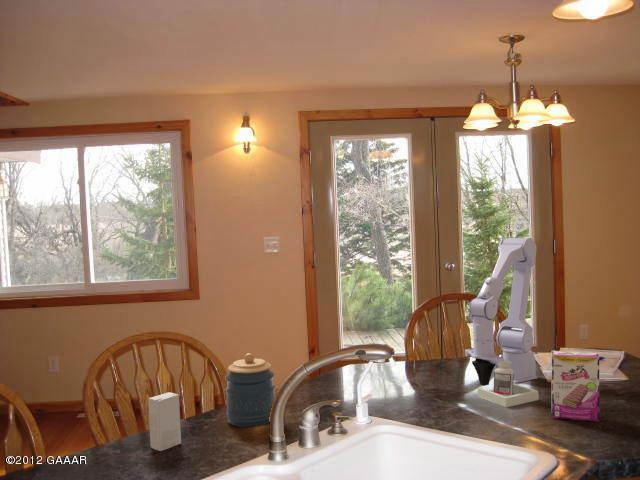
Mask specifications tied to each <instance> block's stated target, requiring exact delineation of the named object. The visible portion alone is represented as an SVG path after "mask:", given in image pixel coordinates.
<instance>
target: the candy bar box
mask: <svg viewBox="0 0 640 480" xmlns="http://www.w3.org/2000/svg"><path fill="white" fill-rule="evenodd" d="M550 357H551V359H550V360H551V361H550V362H551V368H550V369H551V377H550V378H551V389H550V391H551V417H552V419H561V420H571V421H574V420H575V421H583V422H584V421H586V422H598V423H599V422H600V357H599V353H598V352H583V351H582V352H581V351H566V350H565V351H563V350H551V356H550Z"/></svg>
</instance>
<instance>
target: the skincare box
mask: <svg viewBox="0 0 640 480" xmlns="http://www.w3.org/2000/svg"><path fill="white" fill-rule="evenodd" d="M147 401H148V402H147V403H148V418H149V419H148V421H149V437H150V439H149V442H150V443H149V444H150V448H151V449H153V450H155V451H159V452H162V451H165V450H167V449H170V448H173V447H175V446H177V445H180V444H182V433H181V409H180V395H179V394H177V393H174V392H169V391H168V392H165V393H161V394H159V395H155V396H152V397H151V396H150V397H149V398H148V399H147Z"/></svg>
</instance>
